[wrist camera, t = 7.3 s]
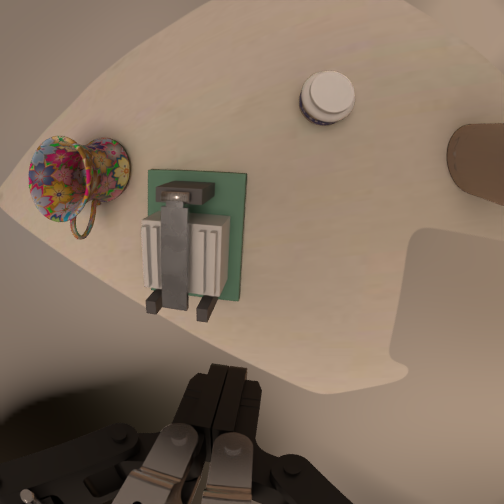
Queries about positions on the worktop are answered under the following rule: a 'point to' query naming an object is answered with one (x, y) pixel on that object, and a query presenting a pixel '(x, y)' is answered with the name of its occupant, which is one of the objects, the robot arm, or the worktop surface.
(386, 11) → the worktop surface
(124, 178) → the mug
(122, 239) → the worktop surface
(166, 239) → the strap
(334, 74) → the pill bottle
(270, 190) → the worktop surface
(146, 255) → the heatsink base
